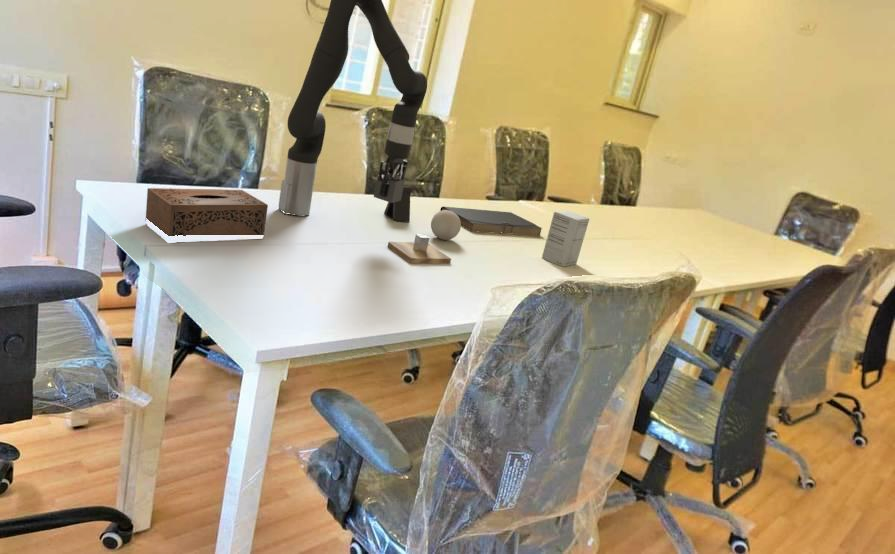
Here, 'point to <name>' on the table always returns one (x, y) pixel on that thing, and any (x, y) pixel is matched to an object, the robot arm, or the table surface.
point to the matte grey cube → (421, 243)
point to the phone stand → (400, 207)
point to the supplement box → (565, 238)
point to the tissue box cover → (205, 212)
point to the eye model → (445, 224)
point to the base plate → (418, 253)
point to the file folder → (494, 221)
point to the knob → (391, 189)
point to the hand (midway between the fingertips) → (388, 194)
